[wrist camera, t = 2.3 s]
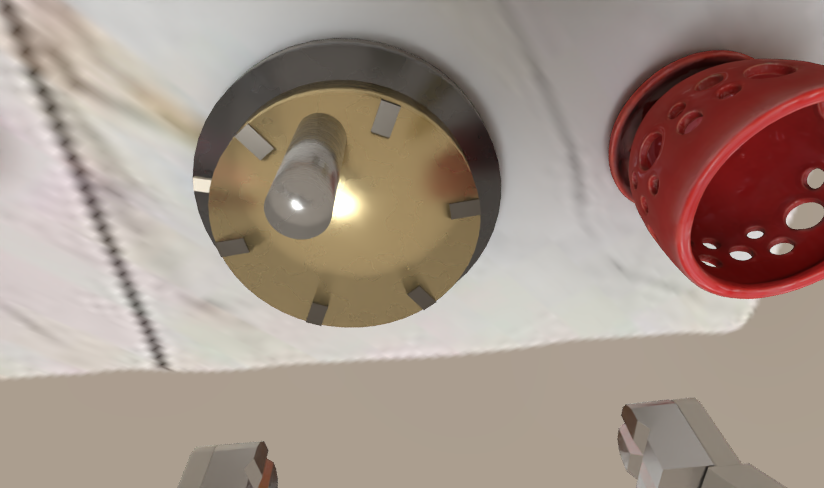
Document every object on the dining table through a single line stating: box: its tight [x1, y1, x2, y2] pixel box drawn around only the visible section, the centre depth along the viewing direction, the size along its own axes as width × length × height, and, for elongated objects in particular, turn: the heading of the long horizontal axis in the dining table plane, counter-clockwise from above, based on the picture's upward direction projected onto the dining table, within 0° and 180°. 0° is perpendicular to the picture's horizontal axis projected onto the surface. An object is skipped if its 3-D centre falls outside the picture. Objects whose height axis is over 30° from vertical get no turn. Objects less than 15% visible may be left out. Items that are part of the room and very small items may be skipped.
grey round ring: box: [193, 38, 501, 281], centre depth 36 cm, size 22×22×2 cm
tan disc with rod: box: [208, 80, 481, 327], centre depth 30 cm, size 18×18×12 cm
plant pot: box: [609, 50, 824, 299], centre depth 31 cm, size 13×13×12 cm
